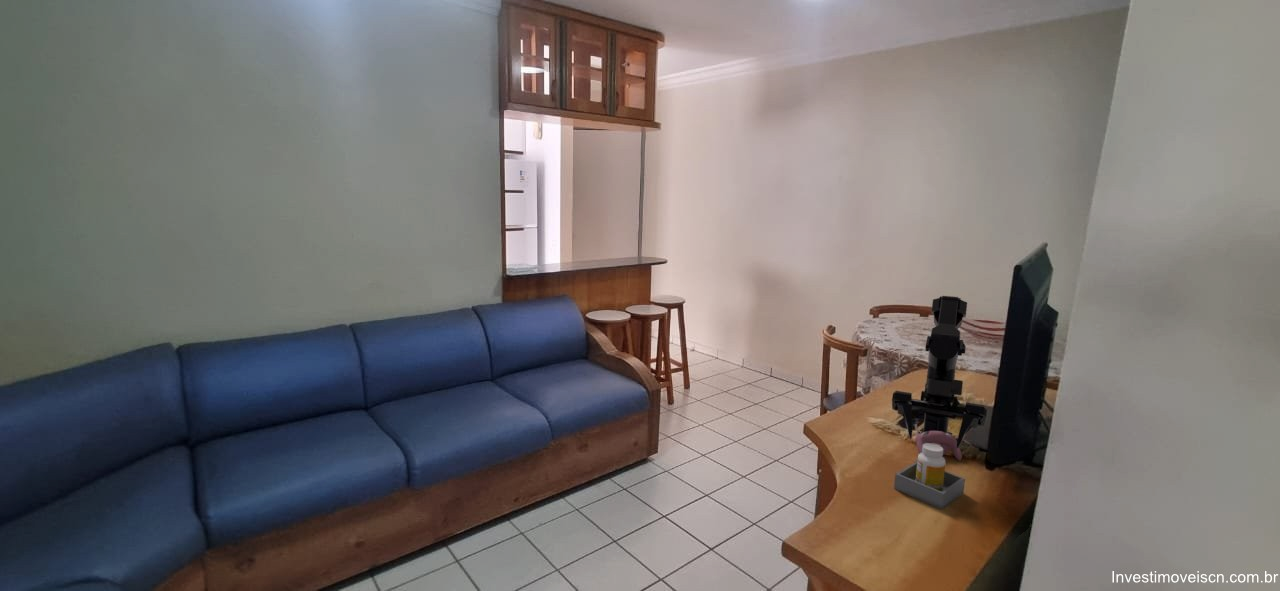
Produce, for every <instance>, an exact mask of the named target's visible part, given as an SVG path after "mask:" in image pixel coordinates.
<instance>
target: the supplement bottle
mask: <svg viewBox="0 0 1280 591" xmlns="http://www.w3.org/2000/svg"><path fill="white" fill-rule="evenodd" d="M939 445H940V444H938V443H925V444H923V447H922V452H921V453H920V454H919V453H918V456H917V460H916V461H917V470H916V480H915V481H917V482H919V483H922V484H924V485H927V486H929V487H931V488H934V489H936V490H938V491H941V492H942V490H943V482H944V473H945V471H946V465H947V464H946V459H945V457H944V456H943V448H942V447H941V446H939Z"/></svg>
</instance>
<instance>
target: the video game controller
mask: <svg viewBox="0 0 1280 591" xmlns="http://www.w3.org/2000/svg"><path fill="white" fill-rule="evenodd" d="M915 443H916V448H917V451H918V455H919V454H920V453H921V452H922V447H923V444H925V443H933V444H938V445H939V446H941V447H942V448H943V455H944V456H945V455H947V454H948V453H949V451H951V452H952V454H953V456H954V457H955V459H956V460H957V461H961V460H962V457H963V454H962V451H961V448H960V447H959V448H956V445H957V438H955V436H954V435H953V433H952V434H949V433H945V432H942V431H926V432H921V433H917V434H916V436H915Z"/></svg>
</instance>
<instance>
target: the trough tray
mask: <svg viewBox="0 0 1280 591" xmlns="http://www.w3.org/2000/svg"><path fill="white" fill-rule="evenodd" d="M917 461H918V460H916V461H915V462H912V463H911V464H910V465H908V466H906V467H904V468H903V469H901V470H899V471H898V472H896V473H895V474H894V485H893V489H894V490H897V491H899V492H901V493H903V494H906V495H908V496H911V497H913V498H915V499H918V500H919V501H921V502H924V503H926V504H928V505H931V506H933V507H935V508H937V509H940V510H943V509H944V508H945V507H947V506H948V505H950V504H951V503H952V502H953V501H955V500H956V499H958V498H959V497H960V496H961V495H963V494H964V492H965V491H964V490H965V482H966V478H965V477H962V476H960V475H957V474H955V473H952V472H949V471H947V470H945V473H944V482H943V490H942V492H941V491H938V490H936V489H934V488H931V487H929V486H927V485H924V484H922V483H919V482H917V481H915V480H916V470H917Z"/></svg>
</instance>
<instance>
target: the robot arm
mask: <svg viewBox="0 0 1280 591" xmlns="http://www.w3.org/2000/svg"><path fill="white" fill-rule="evenodd" d="M967 308H968V302H967V301H964V300H962V298H961V297H959V296H951V295H950V296H949V295H942V296H940V295H939V297H938V298H934V299H932V304H931V315H933V323H934V325H935V326H934V327H932V328H931V332H930V335H927V337H926V343H925V348H924V349H925V350H924V351H925V352H928V363H927V364H928V365H927V371H926V379H925V380H926V382H925V386H924V390H921V393H920V399H916V398H912V397H913V393H912V392H906V391H899V390H895V391H893V393H892V398H891V406H892V407H891V409H892V410H893V411H895V412H897V414H898V415H901V416H902V417H903V421H904V423H905V426H906V428H907V429H906V430H907V433H908V437H909V439H910V440H912V438H913V409H912V408H915V409H919V413H920V414H924V419H923V421H924V422H923V428H921V429H919V430H920V431H922V432H926V431H942V432H945V433H949V434H952V435H953V433H952V432H951V431H948V430H949V421H950V419H954V420H955V419H956V418H958V417H959V416H960V417H962V420H961V424H960V428H959V430H958V435H957V438H956V440H957V445H956V448H960V446H961V444H962V442H963V441H964V439H965V437H966V435H967V434H968V433H969V432H970V430H971V429H977V427H978V426H979V427H982V426H985V423H986V419H987V412H988V411H987V409H988V408H987V406H985V404H979V403H978V404H977V403H973V402H965V406H964V407H963V406H960V404H961V403H960V401H959V399H958V396H962V393H963V381H964V380H960V379H956V378H955V377H956V369H957V368H956V366H957V361H958V357H959V356H961V357H962V355H963V354H966V344H965V343H964V340H963V339H961V331H960V330H959V328H961V327H962V323H963V318H966V317H967V311H968V310H967Z"/></svg>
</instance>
